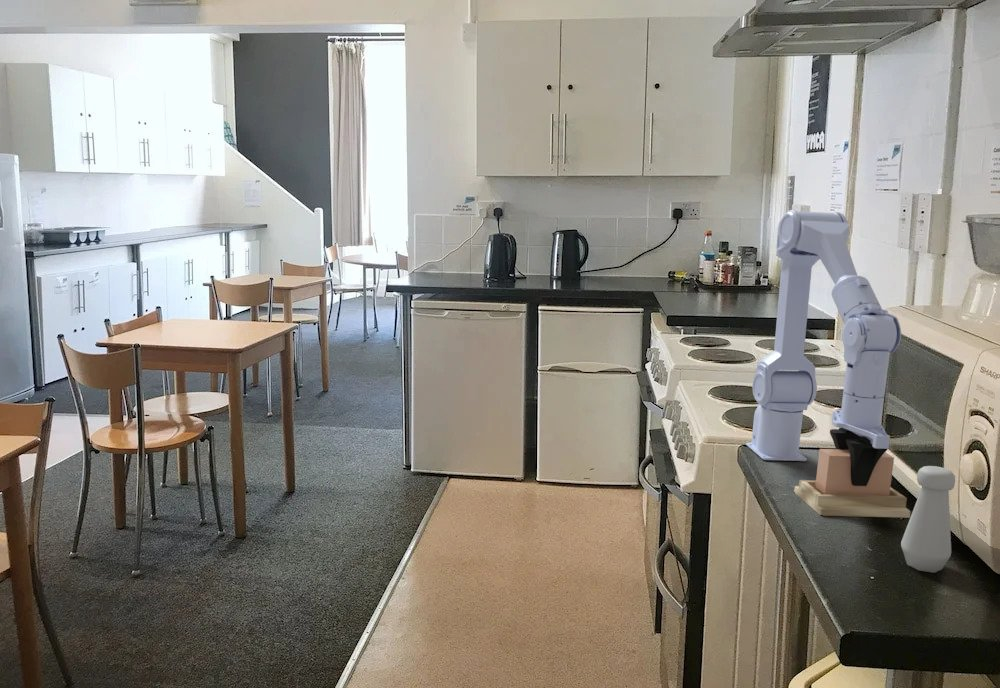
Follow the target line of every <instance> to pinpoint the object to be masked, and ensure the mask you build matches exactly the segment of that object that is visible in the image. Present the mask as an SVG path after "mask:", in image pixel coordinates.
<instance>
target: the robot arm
mask: <svg viewBox="0 0 1000 688" xmlns="http://www.w3.org/2000/svg"><path fill="white" fill-rule="evenodd" d="M849 234H850V226H849V223H848V220H847V217H846V216H845V214H844V213H842V212H837V211H836V212H822V211H817V212H816V211H797V210H794V209H790V210H787V211H786V212H785V213H784V215H783V216H782V218H781V220H779V222H778V226H777V236H776V245H775V246H776V250H775V251H776V256H777V257H778V258H780V259H781V268H780V279H779V280H780V281H779V289H778V292H779V293H778V303H777V313H776V323H775V324H776V325H775V337H774V347H773V351H772V352H771V353H769V354H768V355H766V356H765V357H763V358H762V359H760V360H759V361H758V362H757V365H756V371H755V375H754V377H753V379H752V394H753V398H754V399H755V400H756V402H757V404H758V406H757V407H756V408H755V411H754V415H753V424H752V425H753V426H752V434H751V442H746V443H745V445H746V446H747V447H748V448H749V449H750V450H752V451H753V453H755V454H756V455H758V457H759V458H761V459H762V460H764V461H791V462H807V460H808V459H807V457H806V456H805V455H803V454H802V453H800V442H801V434H802V433H801V432H802V425H803V424H802V423H803V415H804V411H807V410H808V408H809V407H808V406H810V405H812V403H813V402H814V400H815V398H816V396H817V392H818V391H817V390H818V386H817V385H818V383H817V380H816V365H814V364H813V362H812V361H810V360H809V359H808V358H807V357H806V356H805V347H806V346H805V345H806V334H807V323H808V313H809V312H808V310H809V300H810V290H811V278H812V269H813V266H814V265H815V264H816V263H817V262H818V261H819V260H820V261H821V263H822V265H823V266H824V268H825V270H826V272H827V273H828V275H829V277H830V278H831V280H832V282H833V284H834V286H833V288H832V290H831V296H832V300H833V302H834V304H835V306H836V309H837V311H838V313H839V315H840V317H841V319H842V323H843V324H844V327H843V329H842V330H841V339H842V341H841V342H842V345H843V358H844V359H843V360H844V362H846V366H845V375H844V385H843V391H842V399H841V400H842V401H841V407H840V410H839V409H837V410H835V409H834V410H832V416H831V422H832V423H831V424H832V426H834V427H835V428H831V429H830V431H829V434H830V436H831V438H832V441H833V444H834V447H835V448H834V449H841V450H849V453H850V459H851V483H852V485H853V486H867V484H868V482H869V479H870V477H871V474H872V472H873V470H874V468H875V466H876V464H877V462H878V460H879V459H880V458H881V456H882V455H883V454H884V453H885V452H886V453H887V451H888V449H889V448H890V440H891V435H889V434H887V433H886V430H885V428H884V426H883V425H882V417H883V412H884V411H883V409H884V402H885V394H886V386H887V380H888V371H889V363H890V362H889V361H890V354H893V353H894V352H895V351H897V349H898V348H899V346H900V343H901V338H902V328H901V324H900V321H899V319H898V317H897V316H896V315H895V314H893V313H889V312H888V310H886V309H883V308H882V306H881V304H880V302H879V300H878V298H877V295H876V294H875V292H874V289H873V288H872V286H871V284H870V282H869V280H868V279H867V278H866V277H864V276H861V275H858V273H857V270H856V267H855V263H854V262H853V259H852V256H851V253H850V251H849V250H850V249H849V247H848V244H847V243H848V240H849Z"/></svg>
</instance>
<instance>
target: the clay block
mask: <svg viewBox="0 0 1000 688" xmlns="http://www.w3.org/2000/svg"><path fill="white" fill-rule="evenodd" d="M818 451H819V452H818V461H817V467H816V468H817V469H816V477H815V481H816V484H815V486H816V487H817V488H818V489H819V490H820V491H822V492H823V493H824V494H840V495H879V496H889V493H890V487H891V484H892V476H893V468H894V462H895V457H894V456H893V455H890V454H889V453H887V451H886V452H885V453H884V454H883V455H882V456H881V458H880V459H879V460H878V462H877V464H876V466H875V468H874V470H873V472H872V474H871V477H870V479H869V482H868V484H867V486H853V485H852V483H851V459H850V453H849V450H841V449H836V448H834V449H833V448H819V450H818Z"/></svg>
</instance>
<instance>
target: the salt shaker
mask: <svg viewBox="0 0 1000 688" xmlns="http://www.w3.org/2000/svg"><path fill="white" fill-rule="evenodd" d="M916 481H917V483H918V485H919V486H920V487H921V489H920V491H919V494H918V497H917V500H916V502H915V504H914V507H913V510H912V511H911V514H910V518H909V521H908V522H907V525H906V528H905V531H904V534H903V535H902V539H901V542H900V547H901V550H902V552H903V555H904V559H905V562H906V565H907V566H909V567H911V568H913V569H915V570H917V571H921V572H927V573H934V574H935V573H937V572H938V571H942V570H943V568H944V567H945V565H946V564H947V562H948V561H949V559H950V558H951V556H952V555H951V554H952V541H951V539H952V536H951V519H950V518H951V517H950V515H951V514H950V513H951V512H950V498H949V497H950V496H949V492H950V491H952V490H953V489H954V488H955V484H956V475H955V474H954V473H953V472H952V470H949V469H947V468H945V467H942V466H936V465H925V466H922V467H920V468H919V469H918V471H917V474H916Z"/></svg>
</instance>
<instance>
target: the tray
mask: <svg viewBox="0 0 1000 688" xmlns="http://www.w3.org/2000/svg"><path fill="white" fill-rule="evenodd" d="M815 484H816V480H812V479H811V480H808V479H806V480H804V479H799V481H798V485H795V486H794V490H793V491H794V492H795V493H794V492H793V493H794V494H795V495H796V496H798V497H799V498H800V499H801V500H802V501H803V502H805V504H807V505H808V506H809V507H810V508H811V509H813V510H814V512H816V513H817V514H818V515H819V516H820V515H823V517H824V516H825V517H826V516H827V517H828V516H829V517H831V516H832V517H833V516H834V517H869V518H870V517H871V518H905V519H906V518H908V519H910V517H911V514H912V511H911V510H910V509H908V508H907V502H908V499H907V497H906V496H905V495H903V494H902V493H900V492H899V491H897V490H896V489H894V488H893V487H892V486H890V493H889V496H879V495H840V494H824V493H823V492H822V491H820V490H819V489H818V488H817V487H816V486H815Z"/></svg>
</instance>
